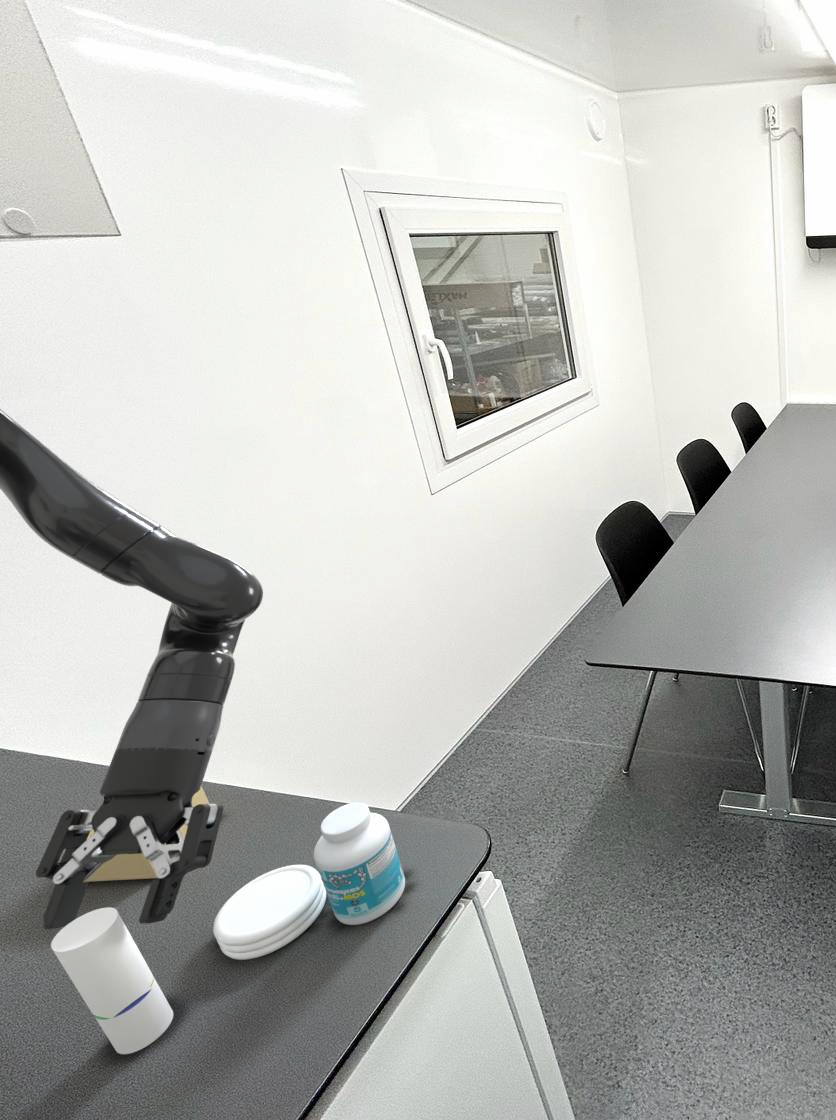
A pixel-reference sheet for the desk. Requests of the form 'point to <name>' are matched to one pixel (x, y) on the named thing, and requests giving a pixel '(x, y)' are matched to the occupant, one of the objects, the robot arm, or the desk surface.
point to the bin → (135, 858)
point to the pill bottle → (358, 864)
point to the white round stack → (269, 912)
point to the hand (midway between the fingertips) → (105, 925)
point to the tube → (113, 979)
